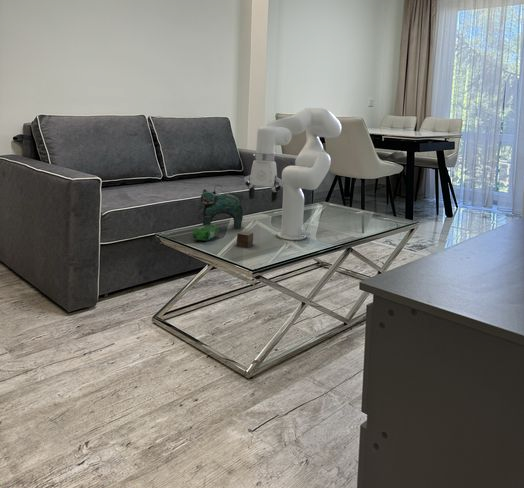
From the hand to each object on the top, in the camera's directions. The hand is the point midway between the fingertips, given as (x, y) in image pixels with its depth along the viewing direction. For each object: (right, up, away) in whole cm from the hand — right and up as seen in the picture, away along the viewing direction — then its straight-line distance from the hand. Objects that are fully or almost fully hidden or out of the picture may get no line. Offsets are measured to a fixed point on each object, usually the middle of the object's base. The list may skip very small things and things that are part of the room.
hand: (262, 200), depth 200 cm
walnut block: (-7, -19, +3) cm, 20 cm away
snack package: (-24, -18, +9) cm, 31 cm away
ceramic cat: (-19, -17, +31) cm, 40 cm away
